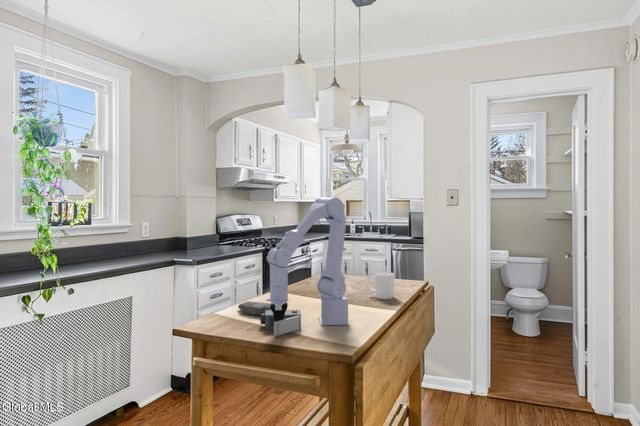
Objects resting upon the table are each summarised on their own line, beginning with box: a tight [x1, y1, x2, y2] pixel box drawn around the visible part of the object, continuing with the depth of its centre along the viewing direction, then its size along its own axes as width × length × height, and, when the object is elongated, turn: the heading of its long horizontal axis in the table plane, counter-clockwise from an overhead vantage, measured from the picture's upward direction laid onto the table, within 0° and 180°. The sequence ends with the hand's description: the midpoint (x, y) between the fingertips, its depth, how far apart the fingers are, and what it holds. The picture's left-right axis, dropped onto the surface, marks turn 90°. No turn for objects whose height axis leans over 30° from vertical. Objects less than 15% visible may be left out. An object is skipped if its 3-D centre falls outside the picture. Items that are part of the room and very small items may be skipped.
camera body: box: [260, 309, 302, 331], centre depth 148 cm, size 14×6×6 cm, turn 94°
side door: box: [273, 314, 302, 337], centre depth 141 cm, size 11×1×5 cm, turn 134°
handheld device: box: [238, 301, 273, 316], centre depth 165 cm, size 10×20×5 cm, turn 62°
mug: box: [366, 271, 395, 300], centre depth 190 cm, size 12×8×10 cm
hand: (279, 326), depth 142 cm, fingers closed
